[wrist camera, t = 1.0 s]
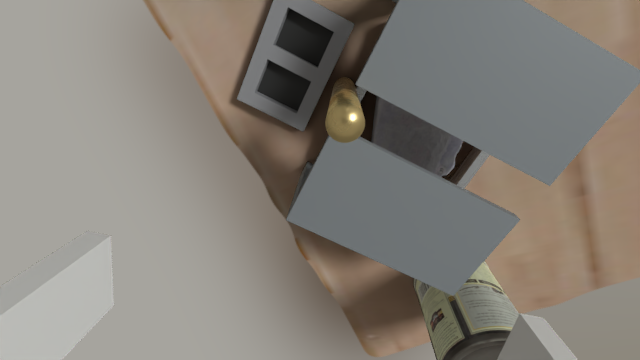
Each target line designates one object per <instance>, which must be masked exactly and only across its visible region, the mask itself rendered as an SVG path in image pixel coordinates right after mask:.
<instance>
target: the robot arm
mask: <svg viewBox="0 0 640 360" xmlns="http://www.w3.org/2000/svg"><path fill="white" fill-rule="evenodd" d="M113 306H114V297H113V271H112V247H111V235H106V234H101V233H95V232H90V231H86V232H85V233H83V234H81V235H80V236H78V237H77V238H75V239H74V240H72V241H70V242H69V243H67V244H66V245H64V246H62V247H61V248H59V249H58V250H56V251H55V252H53V253H52V254H50V255H48V256H47V257H45V258H44V259H42V260H40V261H39V262H37V263H36V264H34V265H33V266H31V267H29V268H28V269H26V270H25V271H23V272H22V273H20V274H18V275H17V276H15V277H14V278H12V279H11V280H9V281H7V282H6V283H4V284H3V285H1V286H0V360H62V359H63V358H64V357H65V356H66V355H67V354H68V353H69V352H70V351H71V350H72V349H73V348H74V347H75V346H76V344H77V343H78V342H79V341H80V340H81V339H82V338H83V337H84V336H85V335H86V334H87V333H88V332H89V331H90V330H91V329H92V328H93V327H94V326H95V324H97V322H98V321H99V320H100V319H101V318H102V317H103V316H104V315H105V314H106V313H107V312H108V311H109V310H110V309H111V308H112V307H113ZM497 360H578V359H577V358H576V357H575V355H574V354H573V353H572V352H571V351H570V349H569V348H568V347H567V346H566V345H565V343H564V342H563V341H562V340H561V339H560V337H559V336H558V335H557V334H556V333H555V331H554V330H553V329H552V328H551V327H550V325H549V324H548V323H547V322H546V320H545V319H544V318H542V317H536V316H531V315H526V314H521V313H520V314H519V316H518V318H517V320H516V322H515V324H514V326H513V328H512V330H511V332H510V334H509V336H508V338H507V340H506V342H505V344H504V346H503V349H502V351H501V353H500V355H499V357H498V359H497Z"/></svg>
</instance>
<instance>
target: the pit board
mask: <svg viewBox="0 0 640 360" xmlns="http://www.w3.org/2000/svg"><path fill="white" fill-rule="evenodd" d="M354 25H355V24H354V23H352V22H350V21H348V20H346V19H345V18H343V17H341V16H339V15H337V14H335V13H334V12H332V11H330V10H328V9H326V8H324V7H323V6H321V5H319V4H317V3H315V2H313V1H312V0H273V3H272V5H271V8H270V11H269V14H268V16H267V19H266V22H265V24H264V27H263V30H262V32H261V35H260V38H259V40H258V43H257V46H256V49H255V51H254V54H253V57H252V59H251V62H250V65H249V67H248V70H247V73H246V76H245V78H244V81H243V84H242V86H241V89H240V92H239V94H238V97H237V99H238V100H240V101H242V102H244V103H246V104H248V105H250V106H252V107H254V108H256V109H258V110H260V111H262V112H264V113H266V114H268V115H270V116H272V117H274V118H276V119H278V120H280V121H282V122H284V123H286V124H288V125H290V126H292V127H295V128H297V129H299V130H301V131H304V129H305V127H306V125H307V123H308V121H309V119H310V117H311V115H312V113H313V110H314V108H315V106H316V104H317V102H318V100H319V98H320V96H321V94H322V92H323V89H324V87H325V85H326V83H327V81H328V79H329V77H330V75H331V73H332V71H333V69H334V66H335V64H336V62H337V60H338V58H339V56H340V54H341V52H342V50H343V48H344V45H345V43H346V41H347V39H348V37H349V35H350V33H351V31H352V29H353V27H354Z"/></svg>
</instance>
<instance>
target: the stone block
mask: <svg viewBox="0 0 640 360" xmlns="http://www.w3.org/2000/svg"><path fill="white" fill-rule="evenodd" d="M371 142H372V143H374V144H376V145H378V146H380V147H382V148H384V149H386V150H388V151H390V152H392V153H394V154H396V155H398V156H400V157H402V158H404V159H406V160H408V161H410V162H412V163H414V164H416V165H418V166H420V167H422V168H424V169H426V170H428V171H430V172H432V173H434V174H436V175H438V176H440V177H442V176H446V175H448V174H449V172H450V171H451V170H452V169H453V168H454V166H455V157H456V155H457V153H458V152H459V151H460V148H461V145H462V143H463V140H461V139H459V138H457V137H455V136H453V135H451V134H449V133H447V132H446V131H444V130H442V129H440V128H438V127H436V126H434V125H432V124H430V123H428V122H426V121H424V120H423V119H421V118H419V117H417V116H415V115H413V114H411V113H409V112H407V111H405V110H403V109H401V108H400V107H398V106H396V105H394V104H392V103H390V102H388V101H386V100H384V99H382V98H380V97H378V96H376V105H375V113H374V121H373V130H372V139H371Z"/></svg>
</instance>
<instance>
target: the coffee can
mask: <svg viewBox="0 0 640 360" xmlns="http://www.w3.org/2000/svg"><path fill="white" fill-rule="evenodd" d="M414 289H415V292H416V294H417V297H418V300H419V303H420V306H421V310H422V313H423V316H424V320H425V323H426V326H427V329H428V333H429V336H430V340H431V343H432V346H433V349H434V353H435V356H436V359H437V360H497V359H498V357H499V355H500V353H501V351H502V349H503V346H504V344H505V342H506V340H507V338H508V336H509V334H510V332H511V330H512V328H513V326H514V324H515V322H516V320H517V318H518V316H519V313H518V312H517V310H516V309H515V307H514V306H513V304H512V303H511V301H510V299H509V298H508V297H507V295H506V294H505V292H504V291H503V289H502V288H501V286H500V285H499V283H498V282H497V280H496V279H495V277H494V276H493V274H492V273H491V271H490V270H489V267H488V266H487V264H486V263H485V261H484V262H483V263H482V264H481V265H480V266H479V267H478V268H477V270H476V271H475V272H474V273H473V274H472V275H471V276H470V278H469V279H468V280H467V281H466V282H465V283H464V284H463V286H462V287H461V288H460V289H459V290H458V291H457V292H456V294H455V295H454V296H452V295H450V294H448V293H446V292H443V291H441V290H439V289H437V288H435V287H432V286H430V285H428V284H426V283H424V282H421V281H419V280H417V279H415V278H414Z"/></svg>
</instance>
